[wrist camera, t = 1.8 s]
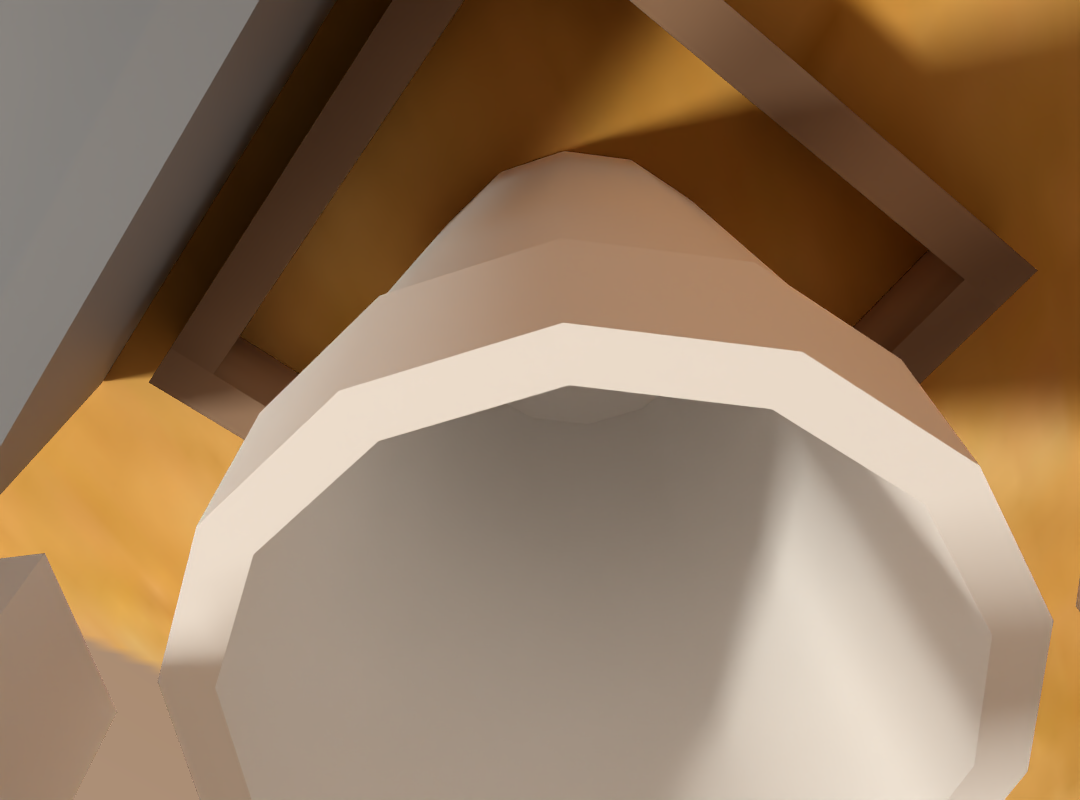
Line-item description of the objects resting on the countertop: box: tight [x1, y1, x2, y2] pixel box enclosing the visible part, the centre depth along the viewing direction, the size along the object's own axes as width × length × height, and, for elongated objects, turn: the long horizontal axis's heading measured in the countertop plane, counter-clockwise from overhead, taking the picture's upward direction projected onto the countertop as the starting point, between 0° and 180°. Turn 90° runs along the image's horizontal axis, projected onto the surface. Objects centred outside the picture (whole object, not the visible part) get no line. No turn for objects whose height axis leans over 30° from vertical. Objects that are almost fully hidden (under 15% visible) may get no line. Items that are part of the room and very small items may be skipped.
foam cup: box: [158, 151, 1053, 800], centre depth 17 cm, size 10×9×13 cm
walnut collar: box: [149, 0, 1038, 440], centre depth 21 cm, size 13×13×2 cm
